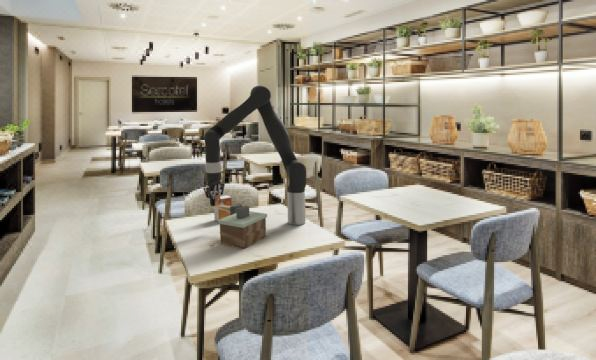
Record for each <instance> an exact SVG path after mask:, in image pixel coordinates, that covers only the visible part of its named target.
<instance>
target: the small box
mask: <svg viewBox="0 0 596 360" xmlns="http://www.w3.org/2000/svg"><path fill="white" fill-rule="evenodd" d="M232 200H233V199H232V196H230V195H227V194H226V195H221V196H220V205H225V206H233V201H232ZM213 212H214V213H213V214H214V221H215V222H217V223H218V220H220V219H222V218H225V217H228V216H230V211H226V210H219V209H213Z"/></svg>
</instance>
